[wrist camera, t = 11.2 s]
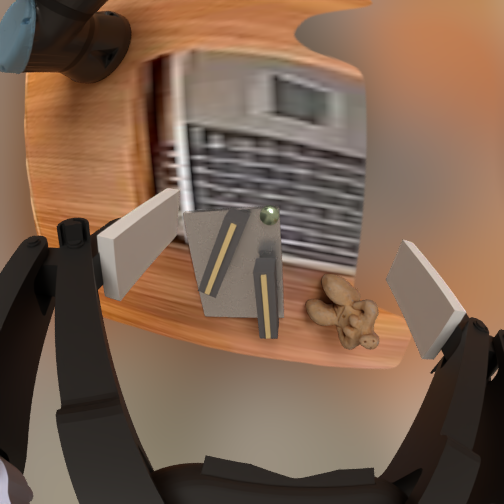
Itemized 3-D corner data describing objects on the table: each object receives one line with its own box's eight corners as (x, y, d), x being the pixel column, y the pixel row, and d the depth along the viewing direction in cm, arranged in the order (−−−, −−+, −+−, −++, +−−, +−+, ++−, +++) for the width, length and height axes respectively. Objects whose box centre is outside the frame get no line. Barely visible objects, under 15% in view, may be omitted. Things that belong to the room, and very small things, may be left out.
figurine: (323, 264, 47) (363, 321, 34) (360, 272, 50) (402, 323, 37) (299, 310, 52) (327, 370, 39) (336, 314, 55) (368, 367, 42)
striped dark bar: (206, 273, 49) (197, 292, 44) (232, 205, 43) (223, 217, 37) (222, 280, 49) (215, 299, 44) (250, 212, 43) (245, 226, 37)
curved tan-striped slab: (262, 318, 52) (259, 340, 47) (256, 255, 46) (252, 273, 41) (279, 318, 52) (277, 340, 46) (275, 254, 46) (273, 273, 40)
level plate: (185, 208, 46) (180, 212, 44) (278, 202, 43) (278, 206, 41) (206, 312, 55) (203, 319, 53) (283, 313, 53) (283, 320, 51)
